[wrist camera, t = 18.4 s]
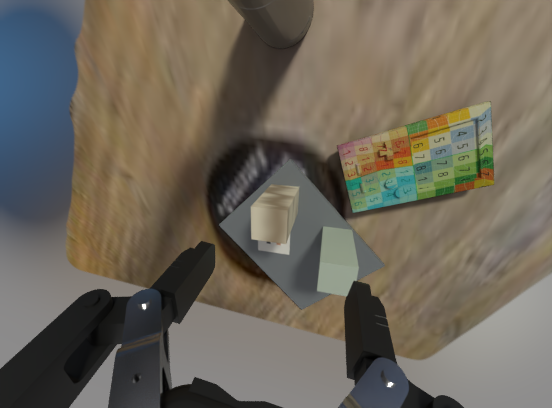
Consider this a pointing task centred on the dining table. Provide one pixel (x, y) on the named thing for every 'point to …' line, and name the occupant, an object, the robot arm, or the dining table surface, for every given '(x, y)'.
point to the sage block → (337, 261)
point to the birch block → (274, 214)
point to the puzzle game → (420, 159)
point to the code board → (296, 239)
